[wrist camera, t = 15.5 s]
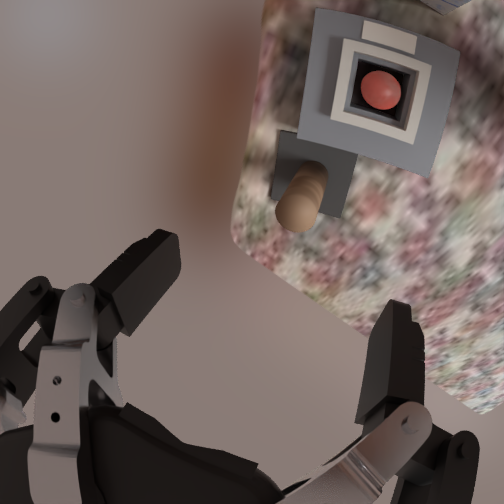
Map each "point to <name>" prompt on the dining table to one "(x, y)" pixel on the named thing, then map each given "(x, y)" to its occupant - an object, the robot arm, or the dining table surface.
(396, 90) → the plunger
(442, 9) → the light bulb box
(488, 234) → the dining table surface
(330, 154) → the mat
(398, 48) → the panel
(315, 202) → the dowel
